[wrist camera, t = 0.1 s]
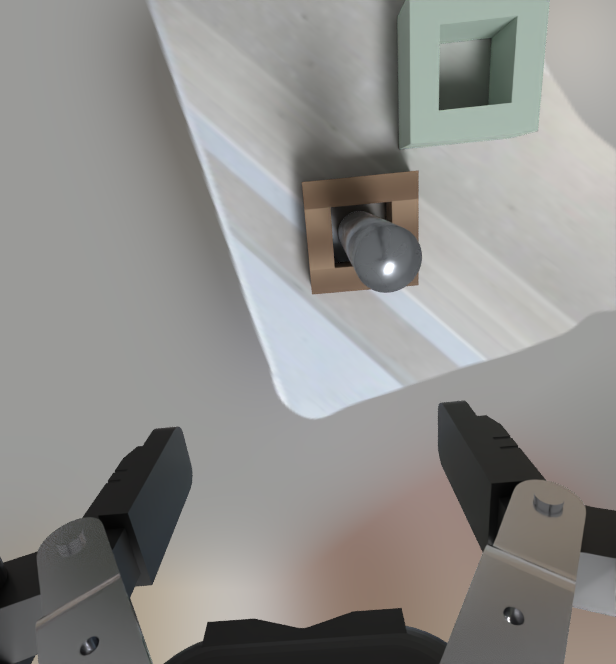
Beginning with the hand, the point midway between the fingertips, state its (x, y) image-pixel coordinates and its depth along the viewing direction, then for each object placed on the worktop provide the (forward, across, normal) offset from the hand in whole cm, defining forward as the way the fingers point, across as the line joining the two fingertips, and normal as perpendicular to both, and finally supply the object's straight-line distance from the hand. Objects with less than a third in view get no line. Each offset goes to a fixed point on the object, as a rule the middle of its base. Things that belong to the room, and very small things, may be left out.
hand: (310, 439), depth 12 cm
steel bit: (+29, -5, -3) cm, 30 cm away
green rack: (+29, -14, -15) cm, 36 cm away
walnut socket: (+29, -5, -3) cm, 30 cm away
